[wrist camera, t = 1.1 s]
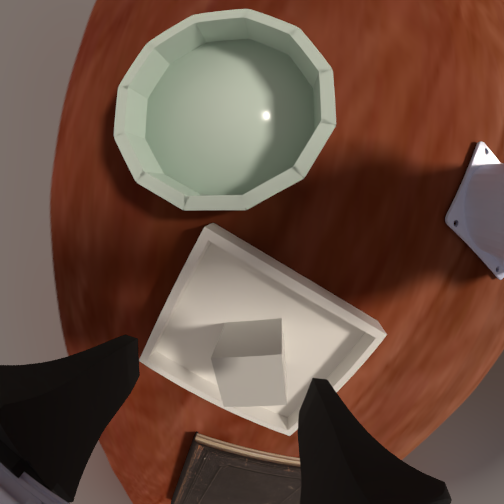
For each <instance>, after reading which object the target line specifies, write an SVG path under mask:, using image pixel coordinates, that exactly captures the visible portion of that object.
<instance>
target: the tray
mask: <svg viewBox="0 0 504 504" xmlns="http://www.w3.org/2000/svg"><path fill="white" fill-rule="evenodd" d="M277 318H282V325H283V335H284V345H285V355H286V370H287V405H276V406H253V407H224V406H223V402H222V399H221V395H220V391H219V388H218V384H217V380H216V376H215V373H214V369H213V365H212V361H211V356H212V354H213V351H214V349H215V346H216V344H217V342H218V339H219V337H220V334H221V332H222V330H223V327H224V325H225V322H240V321H254V320H266V319H277ZM386 335H387V334H386V332H385V331H384V329H383V328H382V326H381V325H380V324H379V322H378V321H377V320H375V319H374V318H372V317H370V316H369V315H367V314H365V313H364V312H362V311H360V310H359V309H357V308H355V307H354V306H352V305H351V304H349V303H347V302H346V301H344V300H342V299H341V298H339V297H337V296H336V295H334V294H332V293H331V292H329V291H327V290H326V289H324V288H322V287H321V286H319V285H317V284H316V283H314V282H312V281H311V280H309V279H307V278H306V277H304V276H302V275H301V274H299V273H297V272H296V271H294V270H292V269H291V268H289V267H287V266H286V265H284V264H282V263H280V262H279V261H277V260H275V259H274V258H272V257H270V256H269V255H267V254H265V253H264V252H262V251H260V250H259V249H257V248H255V247H254V246H252V245H250V244H249V243H247V242H245V241H244V240H242V239H240V238H238V237H237V236H235V235H233V234H232V233H230V232H228V231H227V230H225V229H223V228H222V227H220V226H218V225H217V224H215V223H211V224H209V225H207V226H205V227H204V229H203V230H202V232H201V234H200V236H199V238H198V240H197V242H196V244H195V246H194V247H193V249H192V251H191V253H190V255H189V257H188V259H187V261H186V263H185V265H184V267H183V269H182V271H181V273H180V275H179V277H178V279H177V281H176V283H175V285H174V287H173V289H172V291H171V293H170V295H169V297H168V299H167V301H166V303H165V305H164V307H163V309H162V311H161V313H160V316H159V318H158V320H157V322H156V324H155V326H154V328H153V331H152V333H151V335H150V337H149V339H148V342H147V344H146V346H145V348H144V350H143V353H142V355H141V357H140V359H139V361H140V362H142V363H143V364H145V365H146V366H148V367H149V368H151V369H152V370H154V371H156V372H157V373H159V374H161V375H162V376H164V377H166V378H167V379H169V380H171V381H172V382H174V383H176V384H178V385H179V386H181V387H183V388H185V389H187V390H188V391H190V392H192V393H194V394H196V395H198V396H200V397H201V398H203V399H205V400H207V401H209V402H211V403H213V404H215V405H217V406H219V407H221V408H224V409H226V410H228V411H230V412H232V413H234V414H236V415H239V416H241V417H243V418H245V419H248V420H250V421H252V422H255V423H257V424H260V425H262V426H265V427H267V428H270V429H272V430H275V431H277V432H280V433H283V434H286V435H288V436H290V435H291V434H293V433H294V432H295V431H296V430H297V429H298V418H299V411H300V408H301V406H302V403H303V401H304V398H305V396H306V393H307V391H308V388H309V386H310V383H311V381H312V378H319V379H327V380H328V381H329V383H330V384H331V386H332V387H333V388H334V390H335V391H336V392H337V391H338V390H339V389H340V388H341V387H342V386H343V385H344V384H345V383H346V382H347V381H348V380H349V379H350V378H351V377H352V376H353V374H354V373H355V372H356V371H357V370H358V369H359V368H360V367H361V366H362V364H363V363H364V362H365V361H366V360H367V359H368V357H369V356H370V355H371V354H372V353H373V352H374V350H375V349H376V348H377V347H378V345H379V344H380V343H381V342H382V340H383V339H384V338H385V337H386Z"/></svg>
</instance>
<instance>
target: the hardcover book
mask: <svg viewBox="0 0 504 504" xmlns="http://www.w3.org/2000/svg"><path fill="white" fill-rule="evenodd" d="M300 496H301V467H300V458H296V457H290V456H284V455H278V454H273V453H268V452H263V451H259V450H255V449H250V448H246V447H242V446H238V445H235V444H231V443H227V442H224V441H221V440H217V439H214V438H211V437H208V436H205V435H202V434H199V433H198V432H196V433H195V435H194V438H193V441H192V444H191V447H190V449H189V452H188V455H187V458H186V461H185V464H184V467H183V469H182V472H181V475H180V478H179V481H178V484H177V486H176V489H175V492H174V495H173V498H172V501H171V504H300Z"/></svg>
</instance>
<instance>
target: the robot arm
mask: <svg viewBox="0 0 504 504" xmlns="http://www.w3.org/2000/svg"><path fill="white" fill-rule="evenodd" d="M485 151H486V154H485ZM454 221H456V225H455V226H454ZM445 222H446V224H447V225H448V226H449V227H450V228H451V229H452V230H453V231H454V232H455V233H456V234H457V235H458V236H459V237H460V238H461V239H462V240H463V241H464V242H465V243H466V244H467V245H468V246H469V247H470V248H471V249H472V250H473V251H474V252H475V253H476V254H477V256H478V257H479V258H480V259H481V260H482V261H483V262H484V263H485V264H486V266H487V267H488V268H489V269H490V270H491V271H492V273H493V274H494V275H495V276H496V277H497V278H498V279H499V280H502V279H503V278H504V163H500V161H499V160H498V159H497V158H496V156H495V155H494V154H493V153H492V152H491V150H490V149H489V148H488V147H487V146H486V145H485V143H484V142H482V141H481V142H478V143H477V145H476V148H475V150H474V153H473V156H472V158H471V161H470V163H469V166H468V168H467V171H466V173H465V175H464V178H463V180H462V182H461V185H460V187H459V189H458V191H457V194H456V196H455V198H454V200H453V202H452V204H451V206H450V208H449V210H448V212H447V214H446V217H445ZM496 268H497V269H496ZM139 376H140V375H139V357H138V339H137V338H134V337H131V336H128V335H123V336H120V337H118V338H115V339H113V340H110V341H108V342H105V343H103V344H101V345H98V346H96V347H93V348H91V349H88V350H86V351H83V352H80V353H77V354H74V355H71V356H68V357H65V358H61V359H58V360H53V361H49V362H43V363H37V364H28V365H16V366H15V365H13V366H12V365H7V366H6V365H0V504H70V503H69V502H73V501H74V497H75V494H76V491H77V487H78V485H79V481H80V479H81V476H82V474H83V471H84V469H85V467H86V464H87V462H88V460H89V458H90V456H91V453H92V451H93V449H94V447H95V445H96V443H97V441H98V440H99V438H100V436H101V434H102V432H103V431H104V429H105V428H106V426H107V425H108V423H109V422H110V421H111V419H112V418H113V417H114V415H115V414H116V412H117V411H118V410H119V408H120V407H121V406H122V404H123V403H124V401H125V400H126V399H127V397H128V396H129V394H130V393H131V391H132V389H133V387H134V386H135V384H136V382H137V380H138V378H139ZM298 442H299V455H300V467H301V496H300V504H450V503H451V497H450V494H449V492H448V489H447V487H446V484H445V482H443V481H440V480H438V479H436V478H433V477H431V476H429V475H426V474H424V473H422V472H420V471H418V470H416V469H415V468H413V467H411V466H409V465H408V464H406V463H405V462H403V461H402V460H400V459H399V458H397V457H396V456H395V455H393V454H392V453H391V452H389V451H388V450H387V449H386V448H384V447H383V446H382V445H381V444H380V443H379V442H378V441H377V440H375V439H374V438H373V437H372V436H371V435H370V434H369V433H368V432H367V431H366V430H365V428H364V427H363V426H362V425H361V424H360V423H359V422H358V421H357V419H356V418H355V417H354V416H353V414H352V413H351V412H350V411H349V409H348V408H347V407H346V405H345V404H344V403H343V401H342V400H341V398H340V397H339V396H338V394H337V393H336V391H335V390H334V388H333V387H332V386H331V384H330V383H329V381H328V380H327V379H319V378H312V381H311V383H310V386H309V388H308V391H307V393H306V396H305V398H304V401H303V403H302V406H301V408H300V411H299V418H298Z"/></svg>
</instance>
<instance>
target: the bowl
mask: <svg viewBox="0 0 504 504" xmlns="http://www.w3.org/2000/svg"><path fill="white" fill-rule="evenodd" d="M335 125H336V110H335V93H334V79H333V70H332V68H331V67H330V65H329V64H328V63H327V61H326V60H325V59H324V57H323V56H322V55H321V53H320V52H319V51H318V50H317V48H316V47H315V46H314V45H313V43H312V42H311V41H310V40H309V39H308V37H307V36H306V35H305V34H304V33H303V32H302V30H301V29H300V28H298V27H296V26H294V25H292V24H289V23H287V22H284V21H282V20H279V19H276V18H274V17H271V16H268V15H265V14H263V13H260V12H257V11H254V10H250V9H237V10H226V11H217V12H209V13H202V14H196V15H194V16H193V15H192V16H190V17H189V18H187V19H185V20H183V21H181V22H180V23H178V24H176V25H175V26H173V27H171V28H170V29H168V30H166V31H165V32H163V33H162V34H160V35H158V36H157V37H155V38H154V39H152V40H151V41H149V42H148V44H146V45H145V47H144V48H143V49H142V51H141V52H140V54H139V55H138V57H137V58H136V60H135V61H134V63H133V64H132V66H131V67H130V69H129V70H128V72H127V73H126V75H125V77H124V78H123V80H122V81H121V83H120V85H119V87H118V93H117V102H116V112H115V123H114V139H115V141H116V143H117V145H118V147H119V149H120V151H121V154H122V156H123V158H124V160H125V162H126V164H127V166H128V168H129V170H130V172H131V174H132V176H133V178H134V180H135V181H136V182H137V183H138V184H140V185H141V186H143V187H145V188H146V189H148V190H150V191H151V192H153V193H155V194H156V195H158V196H160V197H161V198H163V199H165V200H167V201H168V202H170V203H172V204H173V205H175V206H177V207H178V208H180V209H182V210H184V211H187V210H248V209H250V208H251V207H253V206H255V205H257V204H258V203H260V202H262V201H264V200H266V199H267V198H269V197H271V196H273V195H275V194H276V193H278V192H280V191H282V190H284V189H286V188H287V187H289V186H291V185H293V184H295V183H297V182H299V181H300V180H302V179H303V178H305V176H306V175H307V173H308V171H309V170H310V168H311V166H312V165H313V163H314V161H315V160H316V158H317V156H318V155H319V153H320V151H321V150H322V148H323V146H324V145H325V143H326V141H327V140H328V138H329V136H330V135H331V133H332V131H333V130H334V128H335Z"/></svg>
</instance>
